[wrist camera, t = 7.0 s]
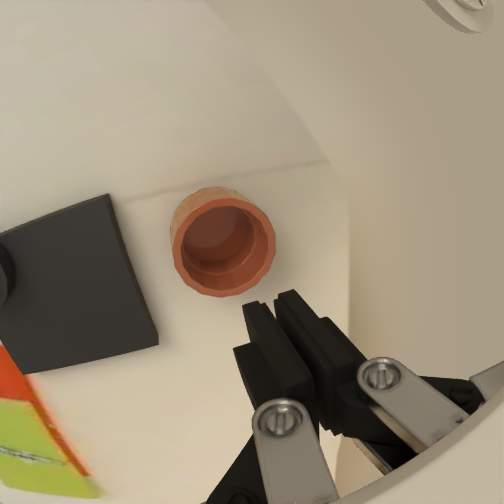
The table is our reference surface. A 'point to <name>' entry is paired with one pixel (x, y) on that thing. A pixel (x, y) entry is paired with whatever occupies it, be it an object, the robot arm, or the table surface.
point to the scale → (70, 290)
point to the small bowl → (221, 242)
